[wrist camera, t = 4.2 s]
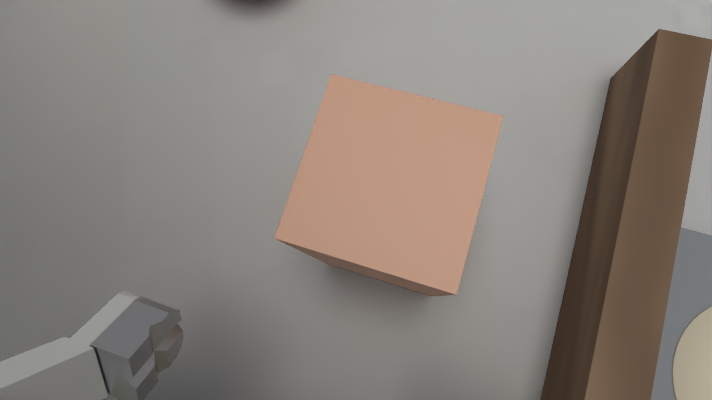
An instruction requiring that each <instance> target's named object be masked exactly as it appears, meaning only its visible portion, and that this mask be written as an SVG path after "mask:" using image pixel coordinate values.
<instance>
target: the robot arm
mask: <svg viewBox="0 0 712 400" xmlns="http://www.w3.org/2000/svg"><path fill="white" fill-rule="evenodd" d="M180 320H181V315H180V310H177V309H174V308H171V307H169V306H166V305H163V304H160V303H158V302H155V301H152V300H150V299H147V298H144V297H142V296H139V295H136V294H134V293H131V292H128V291H125V290H124V291H122V292H120V293H118V294H116V295H115V296H114V297H113V298H112V299H111V300H110V301H109V302H108V303H107V304H106V305H105V306H104V307H102V308H101V309H100V310H99V311H98V312H97V313H96V314H95V315H94V316H93V317H92V318H91V319H90V320H89V321H88V322H86V323H85V324H84V325H83V326H82V327H81V328H80V329H79V330H78V331H77V332H76V333H75V334H74V335H73V336H71V337H70V338H68V337H65V336H64V337H62V338H59V339H57V340H54V341H51V342H49V343H46V344H44V345H41V346H39V347H36V348H33V349H31V350H28V351H26V352H23V353H21V354H18V355H15V356H13V357H10V358H8V359H5V360H3V361H0V400H103V399H105V398H106V397H108V394H110V395H112V396H115V397H118V398H121V399H123V400H144V399H145V398H146V396H147V395H148V394H149V392H150V391H151V390H152V389H153V387H154V386H155V385H156V383H157V382H158V372H159V371H162V370H164V369H166V368H168V367H169V366H170V365H171V364H172V362H173V361H174V360H175V358H176V357H177V355H178V353H179V350H180V348H181V346H182V342H183V331H182V330H181V328H180V327H179V326H178V323H179V321H180Z"/></svg>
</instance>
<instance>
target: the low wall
mask: <svg viewBox="0 0 712 400" xmlns="http://www.w3.org/2000/svg"><path fill="white" fill-rule="evenodd" d="M711 50H712V40H711V39H706V38H701V37H696V36H691V35H686V34H681V33H677V32H672V31H667V30H662V29H658V30H657V31H656V32H655V33H654V35H653V36H652V37H651V38H650V39H649V40H648V41H647V42H646V43H645V44H644V45H643V46H642V47H641V48H640V49H639V50H638V51H637V52H636V53H635V54H634V55H633V56H632V57H631V58H630V59H629V60H628V61H627V62H626V63H625V64H624V65H623V66H622V67H621V68H620V69H619V70H618V71H617V73H616V74H615V75H614V76H613V77H612V78H611V81H610V85H609V90H608V94H607V99H606V104H605V108H604V113H603V117H602V122H601V126H600V131H599V136H598V140H597V145H596V149H595V154H594V159H593V163H592V168H591V172H590V177H589V182H588V186H587V191H586V195H585V200H584V204H583V209H582V214H581V218H580V223H579V227H578V232H577V237H576V241H575V246H574V250H573V255H572V259H571V264H570V269H569V273H568V278H567V282H566V287H565V292H564V296H563V301H562V305H561V310H560V314H559V319H558V324H557V328H556V333H555V337H554V342H553V347H552V351H551V356H550V360H549V365H548V369H547V374H546V379H545V383H544V388H543V392H542V397H541V400H651V395H652V389H653V384H654V378H655V372H656V366H657V361H658V355H659V349H660V343H661V338H662V332H663V326H664V320H665V315H666V309H667V303H668V297H669V292H670V286H671V280H672V274H673V269H674V263H675V257H676V251H677V246H678V240H679V234H680V229H681V223H682V217H683V211H684V206H685V200H686V194H687V188H688V183H689V177H690V171H691V165H692V160H693V154H694V148H695V142H696V137H697V131H698V125H699V119H700V114H701V108H702V102H703V96H704V91H705V85H706V79H707V73H708V68H709V62H710V56H711Z"/></svg>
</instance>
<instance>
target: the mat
mask: <svg viewBox="0 0 712 400" xmlns="http://www.w3.org/2000/svg"><path fill="white" fill-rule="evenodd" d="M651 400H712V236H710V235H707V234H703V233H699V232H695V231H692V230H688V229H684V228H681V229H680V234H679V240H678V246H677V251H676V257H675V263H674V269H673V274H672V280H671V286H670V292H669V297H668V303H667V309H666V315H665V320H664V326H663V332H662V338H661V343H660V349H659V355H658V361H657V366H656V372H655V378H654V384H653V389H652V395H651Z"/></svg>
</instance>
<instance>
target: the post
mask: <svg viewBox="0 0 712 400" xmlns="http://www.w3.org/2000/svg"><path fill="white" fill-rule="evenodd" d="M503 117H504V116H501V115H497V114H493V113H488V112H484V111H480V110H476V109H472V108H468V107H464V106H460V105H456V104H452V103H448V102H443V101H439V100H435V99H431V98H427V97H423V96H419V95H415V94H411V93H407V92H403V91H398V90H394V89H390V88H386V87H382V86H378V85H374V84H370V83H366V82H362V81H358V80H353V79H349V78H345V77H341V76H337V75H333V74H331V77H330V80H329V82H328V85H327V88H326V91H325V94H324V97H323V100H322V102H321V105H320V108H319V111H318V114H317V117H316V120H315V123H314V125H313V128H312V131H311V134H310V137H309V140H308V143H307V146H306V148H305V151H304V154H303V157H302V160H301V163H300V166H299V169H298V171H297V174H296V177H295V180H294V183H293V186H292V189H291V192H290V194H289V197H288V200H287V203H286V206H285V209H284V212H283V215H282V217H281V220H280V223H279V226H278V229H277V232H276V235H275V239H277V240H279V241H281V242H283V243H285V244H287V245H289V246H291V247H294V248H296V249H298V250H300V251H302V252H304V253H306V254H308V255H310V256H312V257H314V258H316V259H318V260H321V261H323V262H325V263H327V264H330V265H333V266H336V267H340V268H343V269H346V270H349V271H352V272H356V273H359V274H362V275H365V276H368V277H371V278H375V279H378V280H381V281H384V282H387V283H391V284H394V285H397V286H400V287H403V288H407V289H410V290H413V291H416V292H419V293H422V294H426V295H429V296H443V295H457V292H458V288H459V284H460V280H461V277H462V273H463V269H464V265H465V261H466V258H467V254H468V250H469V246H470V242H471V239H472V235H473V231H474V227H475V223H476V220H477V216H478V212H479V208H480V204H481V201H482V197H483V193H484V189H485V185H486V182H487V178H488V174H489V170H490V166H491V163H492V159H493V155H494V151H495V147H496V144H497V140H498V136H499V132H500V128H501V125H502V121H503Z"/></svg>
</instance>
